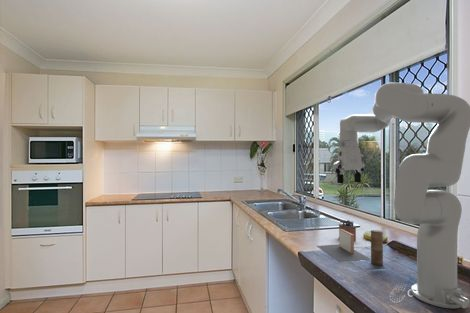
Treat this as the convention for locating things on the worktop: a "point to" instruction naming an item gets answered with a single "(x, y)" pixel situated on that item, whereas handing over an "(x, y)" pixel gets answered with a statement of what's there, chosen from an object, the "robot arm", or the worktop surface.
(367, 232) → the decorated donut
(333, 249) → the mat
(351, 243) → the tile
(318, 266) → the worktop surface
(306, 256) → the worktop surface
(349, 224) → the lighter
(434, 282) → the robot arm
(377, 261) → the brown wooden block
